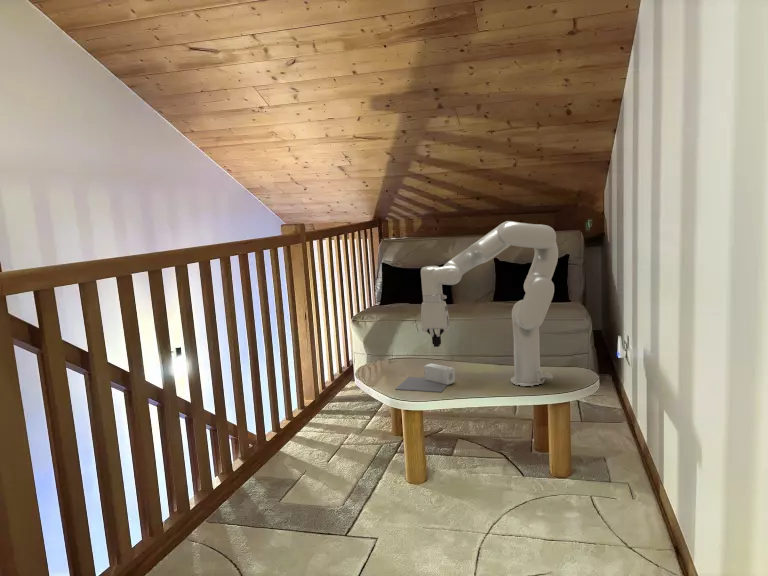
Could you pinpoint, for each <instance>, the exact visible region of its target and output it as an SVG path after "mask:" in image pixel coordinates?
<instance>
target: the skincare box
mask: <svg viewBox="0 0 768 576" xmlns="http://www.w3.org/2000/svg"><path fill="white" fill-rule="evenodd" d="M423 368H424V370H423V372H424V373H423V374H424V378H425V380H429V381H433V382H438V383H442V384H446V385H447V386H449V385H451V384H453V383H455V381H456V377H455V374H456V373H455V367H450V366H445V365H442V364H436V363H433V362H432V363H428V364H425V365H424V367H423Z"/></svg>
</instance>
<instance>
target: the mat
mask: <svg viewBox="0 0 768 576" xmlns="http://www.w3.org/2000/svg"><path fill="white" fill-rule="evenodd" d="M447 386H448V385H446V384H442V383H438V382H433V381H429V380H425V377H419V376H408V377H407V378H406V379H404V381H402V382H401V383H400V384H399V385H398V386H397V387H396V388H395V390H396V389H398V390H397V391H407V390H409V391H411V392H427V393H443V391H444V390H445V389H446V388H447Z"/></svg>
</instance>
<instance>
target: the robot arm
mask: <svg viewBox="0 0 768 576" xmlns="http://www.w3.org/2000/svg"><path fill="white" fill-rule="evenodd" d="M510 246H514V247H520V248H531V249H533V250H534V255H533V259H532V263H531V264H530V265H531V266H530V268H529V270H528V274H527V275H526V278H525V279H524V283H523V290H524V292H525V294H524V296H523V299H520V300H518V301H516V302H515V304H514V305H513V307H512V309H511V323H512V334H513V362H514V363H513V364H514V369H513V370H514V372H513V373H514V376H512V377H511V378H510V383H511V384H512V383H513V384H512V385H514V384H515V386H518V385H520V386H519V387H525V386H531V387H534V386H533V385H539V384H542V383H543V382H544V381H545V380H553V373H552V374H551V373H550V372H544V371H543V370H542V368H541V357H540V356H541V355H540V354H541V353H540V352H541V351H540V349H541V348H540V328H539V327H541V325H542V324H543V322H544V320H545V318H546V316H547V313H548V310H549V308H550V306H551V303H552V301H553V298H554V295H555V294H554V293H555V284H554V282H553V281H552V278H553V276H554V273H555V270H556V267H557V265H558V259H559V248H558V244H557V233H556V231H555V230H554V228H553V227H551V226H549V225H548V224H547V225H546V224H540V223H539V224H537V223H536V224H534V223H528V222H527V223H526V222H518V221H512V220H506V221H504V222H502V223H500V224H499V225H498V226H496V227H495V228H494V229H491V230H490V231H489V232H488V233H486V234H485V235H484V236H483V237H481V238H479V240H478V239H477V241H476V242H474V243H472V244H471V245H469V247H467V248H466V249H464V250H462V251H461V252H459V253H458V254H457V255H456V256H454V257H453V258H451V259H450V260H448V261H447V262H446V263H445V264H443V266H438V265H428V266H423V267H422V268H421V269H420V278H421V281H420V282H421V291H422V292H421V293H422V303H421V309H420V323H421V331H422V332H424V333H425V332H426V333H428V334H429V335H430V337H431V343H432V345H433V348H439V347H440V346H441V345H442V338H441V337H442V334H443V333H445V332H449V331H450V328H451V327H450V326H449V325H450V315H449V311H448V309H449V308H448V305H447V303H446V299H447V298H448V297H447V295H445V294H444V293H443V285H446V286H453V285H457V284H458V283H459V282H461V280H462V276H463V275H464V274H466V273H467V272H469V271H470V270H472V269H473V268H476V267H478V266H479V265H482V264H485V263H487V262H490V261H491V260H492V259H494V258H495V257H497V255H500V253H502V252H503V251H505V250H507V248H509V247H510ZM544 383H545V382H544ZM544 383H543V384H544ZM543 384H542V385H543ZM539 386H540V385H539Z"/></svg>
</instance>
